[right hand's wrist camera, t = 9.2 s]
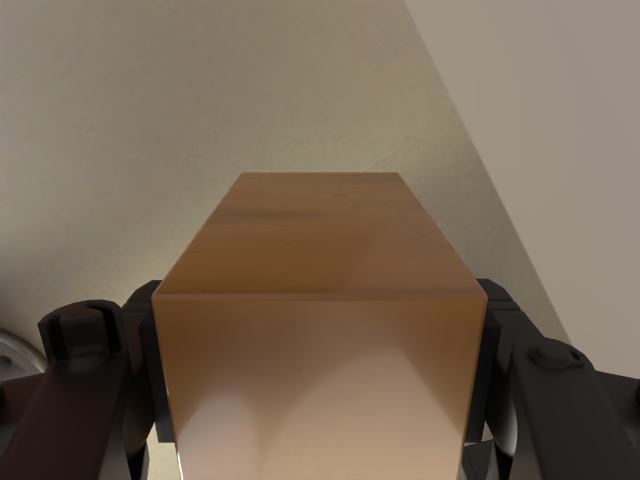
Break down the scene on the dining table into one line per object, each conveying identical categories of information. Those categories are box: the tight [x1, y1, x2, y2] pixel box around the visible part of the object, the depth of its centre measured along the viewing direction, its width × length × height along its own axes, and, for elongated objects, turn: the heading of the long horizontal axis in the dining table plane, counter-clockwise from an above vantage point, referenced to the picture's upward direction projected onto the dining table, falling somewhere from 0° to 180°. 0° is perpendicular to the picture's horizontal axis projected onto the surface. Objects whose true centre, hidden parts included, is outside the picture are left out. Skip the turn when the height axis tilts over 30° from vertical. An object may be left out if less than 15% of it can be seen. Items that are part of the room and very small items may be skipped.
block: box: [151, 173, 488, 480], centre depth 11 cm, size 5×5×8 cm
